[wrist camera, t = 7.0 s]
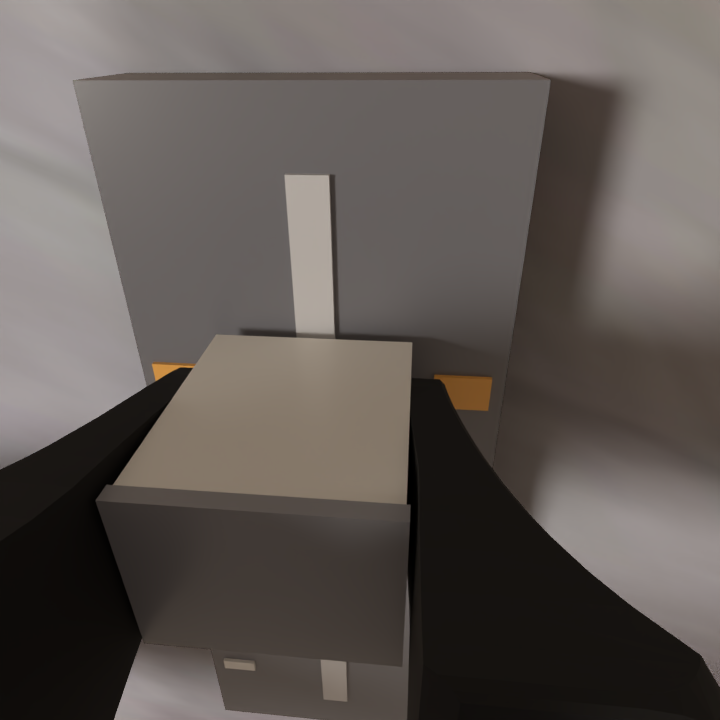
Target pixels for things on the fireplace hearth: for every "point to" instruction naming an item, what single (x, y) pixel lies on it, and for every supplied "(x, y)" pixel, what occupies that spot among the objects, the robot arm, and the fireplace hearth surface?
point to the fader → (273, 503)
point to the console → (323, 253)
